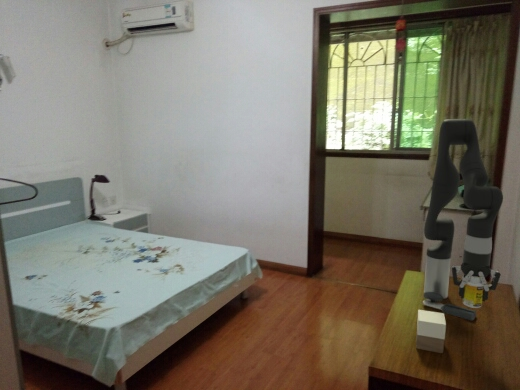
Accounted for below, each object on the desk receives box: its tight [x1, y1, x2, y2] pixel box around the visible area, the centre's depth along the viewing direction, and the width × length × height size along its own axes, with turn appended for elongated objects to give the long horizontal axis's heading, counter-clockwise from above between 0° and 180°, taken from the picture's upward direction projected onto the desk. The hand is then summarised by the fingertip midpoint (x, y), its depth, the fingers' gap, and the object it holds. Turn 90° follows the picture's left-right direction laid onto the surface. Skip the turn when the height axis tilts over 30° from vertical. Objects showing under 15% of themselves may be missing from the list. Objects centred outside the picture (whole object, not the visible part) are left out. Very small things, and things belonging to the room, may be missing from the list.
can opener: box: [422, 292, 477, 321], centre depth 152 cm, size 19×5×6 cm, turn 50°
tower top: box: [416, 309, 447, 340], centre depth 129 cm, size 8×8×5 cm
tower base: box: [415, 332, 445, 354], centre depth 130 cm, size 8×8×5 cm
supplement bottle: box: [462, 276, 484, 309], centre depth 126 cm, size 6×6×10 cm
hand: (472, 298), depth 127 cm, fingers closed on supplement bottle, 5 cm apart
